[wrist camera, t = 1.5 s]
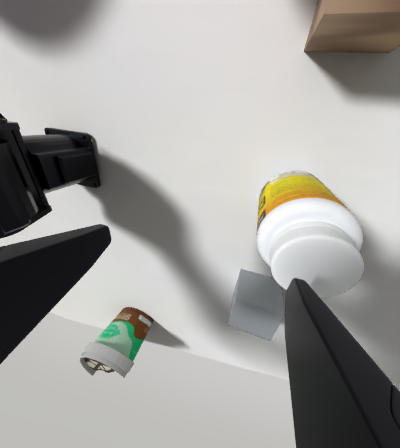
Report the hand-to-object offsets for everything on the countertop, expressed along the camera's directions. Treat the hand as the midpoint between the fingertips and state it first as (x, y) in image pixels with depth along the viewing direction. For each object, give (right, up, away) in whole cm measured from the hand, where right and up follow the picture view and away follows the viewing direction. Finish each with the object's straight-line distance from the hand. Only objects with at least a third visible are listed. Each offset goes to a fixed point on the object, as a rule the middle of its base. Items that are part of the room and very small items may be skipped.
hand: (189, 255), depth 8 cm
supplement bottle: (+9, +4, +9) cm, 14 cm away
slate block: (+8, -7, +16) cm, 19 cm away
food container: (-14, -18, +30) cm, 38 cm away
